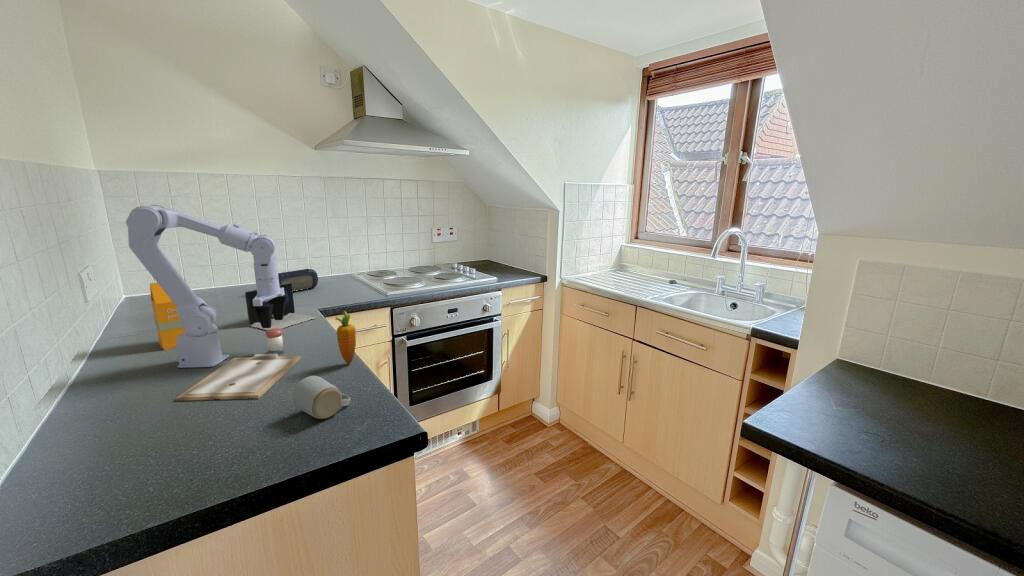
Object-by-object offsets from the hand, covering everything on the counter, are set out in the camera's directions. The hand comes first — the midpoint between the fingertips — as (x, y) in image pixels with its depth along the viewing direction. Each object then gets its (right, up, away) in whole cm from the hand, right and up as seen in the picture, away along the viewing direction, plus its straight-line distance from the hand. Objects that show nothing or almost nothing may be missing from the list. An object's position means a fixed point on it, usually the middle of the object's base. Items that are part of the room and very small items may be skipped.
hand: (272, 323), depth 124 cm
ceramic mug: (+29, -17, -31) cm, 45 cm away
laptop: (-13, -3, +31) cm, 34 cm away
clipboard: (+1, -13, -15) cm, 19 cm away
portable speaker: (-35, +8, +78) cm, 86 cm away
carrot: (+25, -11, -6) cm, 28 cm away
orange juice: (-35, -7, +9) cm, 37 cm away
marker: (0, -9, +2) cm, 9 cm away
